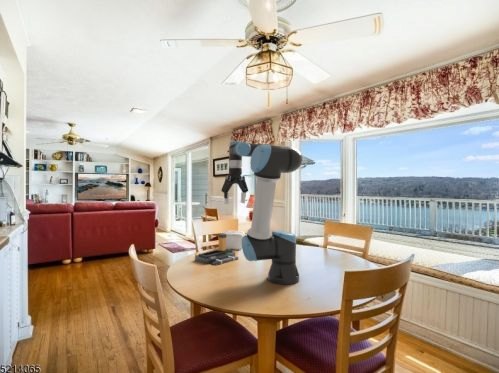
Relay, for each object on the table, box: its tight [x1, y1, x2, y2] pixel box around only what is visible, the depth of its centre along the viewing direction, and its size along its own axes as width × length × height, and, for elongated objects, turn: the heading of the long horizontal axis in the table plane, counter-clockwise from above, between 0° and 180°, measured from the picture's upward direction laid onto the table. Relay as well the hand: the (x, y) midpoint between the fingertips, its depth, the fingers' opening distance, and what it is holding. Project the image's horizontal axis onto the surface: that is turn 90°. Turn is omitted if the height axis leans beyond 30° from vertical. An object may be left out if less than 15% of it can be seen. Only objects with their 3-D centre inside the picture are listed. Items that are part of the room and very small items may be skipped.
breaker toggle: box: [216, 233, 227, 253], centre depth 176 cm, size 4×4×11 cm
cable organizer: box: [223, 230, 246, 251], centre depth 201 cm, size 15×11×12 cm
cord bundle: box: [210, 255, 239, 266], centre depth 166 cm, size 18×5×2 cm, turn 138°
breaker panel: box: [194, 249, 236, 265], centre depth 172 cm, size 22×12×4 cm, turn 138°
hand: (235, 203), depth 166 cm, fingers open, 13 cm apart
